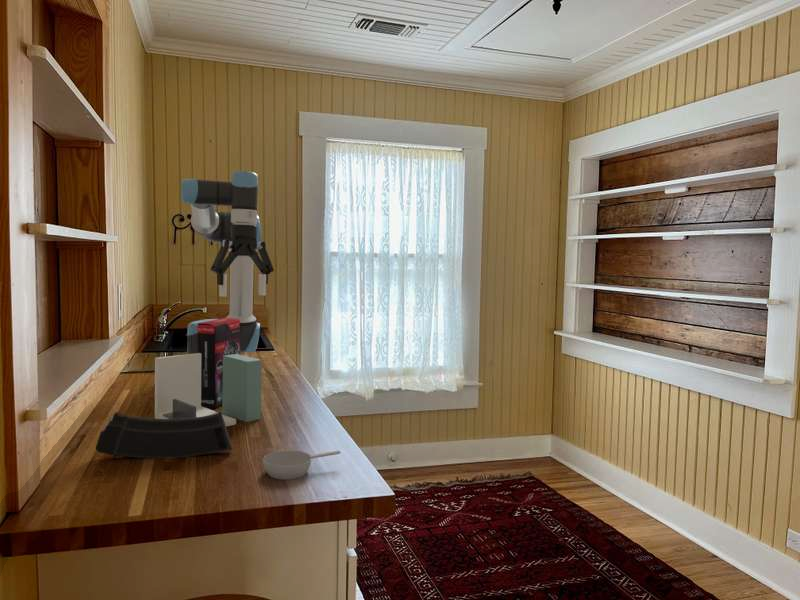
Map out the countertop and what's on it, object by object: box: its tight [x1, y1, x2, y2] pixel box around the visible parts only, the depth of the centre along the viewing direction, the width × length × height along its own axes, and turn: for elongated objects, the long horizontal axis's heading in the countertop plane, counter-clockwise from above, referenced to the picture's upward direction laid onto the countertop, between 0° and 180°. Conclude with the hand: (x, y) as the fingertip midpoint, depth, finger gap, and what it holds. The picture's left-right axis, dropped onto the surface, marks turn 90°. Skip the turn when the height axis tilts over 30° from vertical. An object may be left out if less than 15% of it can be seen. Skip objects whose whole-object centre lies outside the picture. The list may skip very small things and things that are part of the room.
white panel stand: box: [154, 353, 237, 427], centre depth 171 cm, size 14×21×18 cm, turn 48°
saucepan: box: [262, 449, 341, 481], centre depth 136 cm, size 11×18×4 cm, turn 114°
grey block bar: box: [163, 399, 196, 419], centre depth 168 cm, size 4×12×4 cm, turn 48°
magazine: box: [95, 411, 233, 460], centre depth 142 cm, size 17×3×30 cm
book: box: [221, 353, 263, 423], centre depth 178 cm, size 5×13×18 cm, turn 48°
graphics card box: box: [197, 317, 241, 409], centre depth 193 cm, size 17×7×27 cm, turn 168°
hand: (243, 295), depth 176 cm, fingers open, 13 cm apart
